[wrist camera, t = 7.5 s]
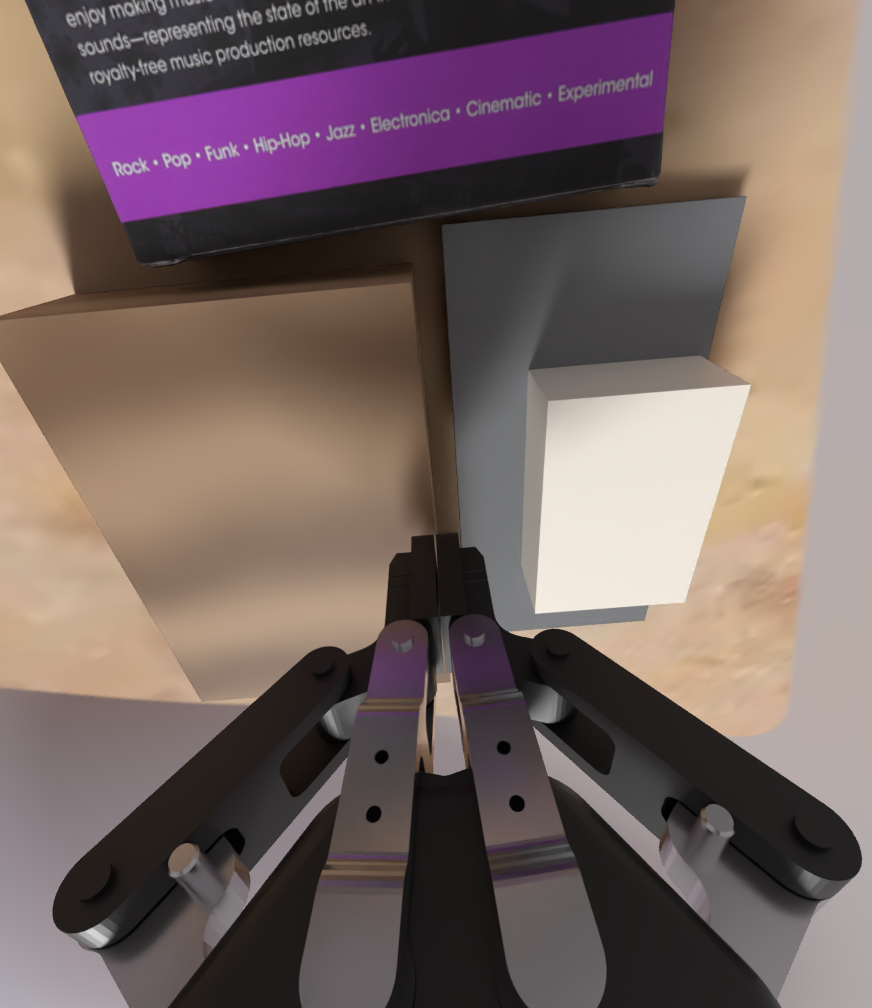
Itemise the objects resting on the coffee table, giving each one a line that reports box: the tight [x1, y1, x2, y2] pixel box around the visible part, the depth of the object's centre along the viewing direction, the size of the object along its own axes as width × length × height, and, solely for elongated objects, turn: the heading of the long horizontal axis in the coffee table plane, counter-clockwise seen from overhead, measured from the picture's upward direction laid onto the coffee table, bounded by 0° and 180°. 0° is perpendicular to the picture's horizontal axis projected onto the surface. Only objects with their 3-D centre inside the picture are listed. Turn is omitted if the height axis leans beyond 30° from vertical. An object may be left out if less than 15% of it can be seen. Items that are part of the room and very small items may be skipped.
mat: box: [441, 196, 747, 631], centre depth 19 cm, size 18×9×1 cm, turn 5°
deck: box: [0, 263, 450, 702], centre depth 18 cm, size 16×11×4 cm
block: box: [521, 355, 751, 614], centre depth 18 cm, size 9×6×3 cm, turn 4°
